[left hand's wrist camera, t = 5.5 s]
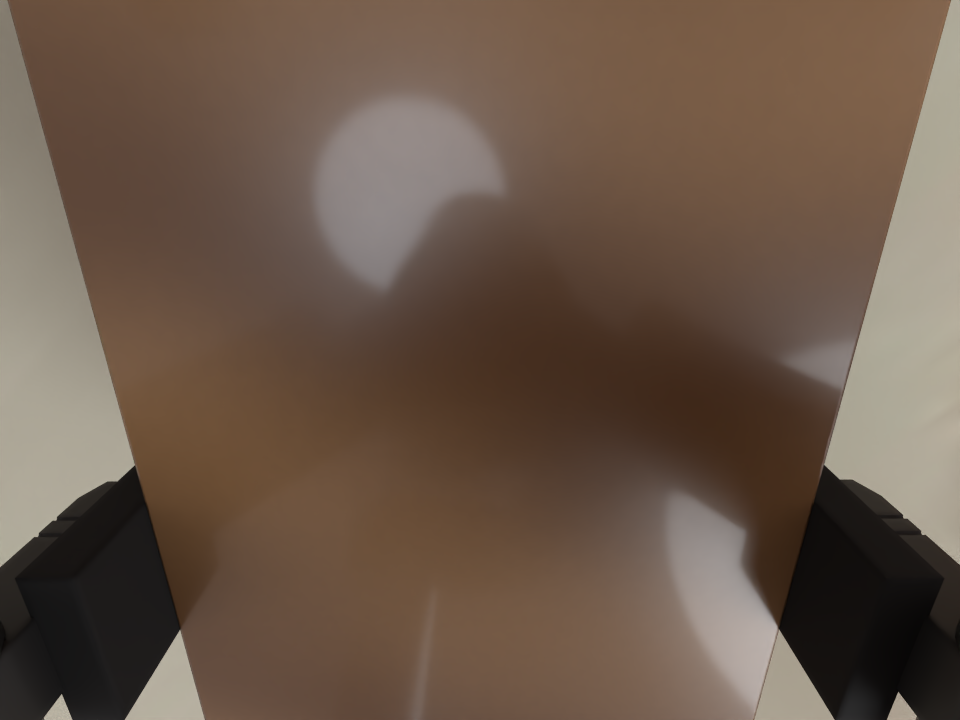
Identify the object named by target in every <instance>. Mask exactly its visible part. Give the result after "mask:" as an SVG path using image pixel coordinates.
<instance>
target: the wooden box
mask: <svg viewBox="0 0 960 720" xmlns="http://www.w3.org/2000/svg"><path fill="white" fill-rule="evenodd" d="M950 2H951V0H8V4H9V7H10V11H11V15H12V18H13V22H14V25H15V29H16V33H17V36H18V40H19V44H20V47H21V51H22V55H23V58H24V62H25V66H26V69H27V73H28V77H29V80H30V84H31V87H32V91H33V95H34V98H35V102H36V106H37V109H38V113H39V117H40V120H41V124H42V128H43V131H44V135H45V138H46V142H47V146H48V149H49V153H50V157H51V160H52V164H53V168H54V171H55V175H56V179H57V182H58V186H59V189H60V193H61V197H62V200H63V204H64V208H65V211H66V215H67V219H68V222H69V226H70V230H71V233H72V237H73V241H74V244H75V248H76V251H77V255H78V259H79V262H80V266H81V270H82V273H83V277H84V281H85V284H86V288H87V292H88V295H89V299H90V302H91V306H92V310H93V313H94V317H95V321H96V324H97V328H98V332H99V335H100V339H101V343H102V346H103V350H104V354H105V357H106V361H107V364H108V368H109V372H110V375H111V379H112V383H113V386H114V390H115V394H116V397H117V401H118V405H119V408H120V412H121V415H122V419H123V423H124V426H125V430H126V434H127V437H128V441H129V445H130V448H131V452H132V456H133V459H134V463H135V466H136V470H137V474H138V477H139V481H140V485H141V488H142V492H143V496H144V499H145V503H146V507H147V510H148V514H149V518H150V521H151V525H152V528H153V532H154V536H155V539H156V543H157V547H158V550H159V554H160V558H161V561H162V565H163V569H164V572H165V576H166V579H167V583H168V587H169V590H170V594H171V598H172V601H173V605H174V609H175V612H176V616H177V620H178V623H179V627H180V630H181V634H182V638H183V641H184V645H185V649H186V652H187V656H188V660H189V663H190V667H191V671H192V674H193V678H194V682H195V685H196V689H197V692H198V696H199V700H200V703H201V707H202V711H203V714H204V718H205V720H754V719H755V715H756V711H757V708H758V704H759V700H760V697H761V693H762V689H763V686H764V682H765V678H766V675H767V671H768V667H769V664H770V660H771V656H772V653H773V649H774V645H775V642H776V638H777V635H778V631H779V627H780V624H781V620H782V616H783V613H784V609H785V605H786V602H787V598H788V594H789V591H790V587H791V583H792V580H793V576H794V572H795V569H796V565H797V561H798V558H799V554H800V550H801V547H802V543H803V539H804V536H805V532H806V528H807V525H808V521H809V517H810V514H811V510H812V507H813V503H814V499H815V496H816V492H817V488H818V485H819V481H820V477H821V474H822V470H823V466H824V463H825V459H826V455H827V452H828V448H829V444H830V441H831V437H832V433H833V430H834V426H835V422H836V419H837V415H838V411H839V408H840V404H841V400H842V397H843V393H844V389H845V386H846V382H847V379H848V375H849V371H850V368H851V364H852V360H853V357H854V353H855V349H856V346H857V342H858V338H859V335H860V331H861V327H862V324H863V320H864V316H865V313H866V309H867V305H868V302H869V298H870V294H871V291H872V287H873V283H874V280H875V276H876V272H877V269H878V265H879V262H880V258H881V254H882V251H883V247H884V243H885V240H886V236H887V232H888V229H889V225H890V221H891V218H892V214H893V210H894V207H895V203H896V199H897V196H898V192H899V188H900V185H901V181H902V177H903V174H904V170H905V166H906V163H907V159H908V155H909V152H910V148H911V144H912V141H913V137H914V134H915V130H916V126H917V123H918V119H919V115H920V112H921V108H922V104H923V101H924V97H925V93H926V90H927V86H928V82H929V79H930V75H931V71H932V68H933V64H934V60H935V57H936V53H937V49H938V46H939V42H940V38H941V35H942V31H943V27H944V24H945V20H946V17H947V13H948V9H949V6H950Z"/></svg>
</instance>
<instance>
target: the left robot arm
mask: <svg viewBox="0 0 960 720" xmlns="http://www.w3.org/2000/svg"><path fill="white" fill-rule="evenodd" d="M179 630H180V627H179V623H178V620H177V616H176V612H175V609H174V605H173V601H172V598H171V594H170V590H169V587H168V583H167V579H166V576H165V572H164V569H163V565H162V561H161V558H160V554H159V550H158V547H157V543H156V539H155V536H154V532H153V528H152V525H151V521H150V518H149V514H148V510H147V507H146V503H145V499H144V496H143V492H142V488H141V485H140V481H139V477H138V474H137V470H136V466H134V467H133V468H132V469H131V470H129V471H128V472H127V473H126V474H125V475H124V476H123V477H122V478H121V479H120V480H119V481H118V482H106V483H104V484H102V485H101V486H99V487H97V488H95V489H94V490H92V491H90V492H88V493H86V494H85V495H83V496H81V497H79V498H78V499H77V500H76V501H74V502H73V503H72V504H71V505H70V506H69V507H68V508H67V509H65V510H64V511H63V512H62V513H61V514H60V515H59V516H58V517H57V520H56V521H52V522H51V523H50V524H49V525H47V526H46V527H45V528H44V529H43V530H42V531H41V532H40V533H39V536H38V537H34V538H33V539H32V540H31V541H29V542H28V543H27V544H26V545H25V546H24V547H23V548H22V549H20V550H19V551H18V552H17V553H16V554H15V555H14V556H13V557H11V558H10V559H9V560H8V561H7V562H6V563H5V564H4V565H2V566H1V567H0V720H44V716H45V715H46V714H47V712H48V711H49V710H50V708H51V707H52V706H53V705H54V703H55V702H56V701H57V699H58V698H59V697H60V695H61V694H62V695H63V698H64V700H65V702H66V705H67V707H68V710H69V712H70V715H71V717H72V719H73V720H125V718H126V717H127V715H128V713H129V712H130V710H131V709H132V707H133V705H134V704H135V702H136V700H137V699H138V697H139V696H140V694H141V692H142V691H143V689H144V687H145V686H146V684H147V682H148V681H149V679H150V678H151V676H152V674H153V673H154V671H155V669H156V668H157V666H158V665H159V663H160V661H161V660H162V658H163V656H164V655H165V653H166V652H167V650H168V648H169V647H170V645H171V643H172V642H173V640H174V638H175V637H176V635H177V634H178V632H179ZM779 630H780V631H781V633H782V635H783V636H784V638H785V639H786V641H787V643H788V644H789V646H790V648H791V649H792V651H793V652H794V654H795V656H796V657H797V659H798V661H799V662H800V664H801V665H802V667H803V669H804V670H805V672H806V674H807V675H808V677H809V679H810V680H811V682H812V683H813V685H814V687H815V688H816V690H817V692H818V693H819V695H820V696H821V698H822V700H823V701H824V703H825V705H826V706H827V708H828V709H829V711H830V713H831V714H832V716H833V718H834V719H835V720H887V718H888V715H889V713H890V710H891V708H892V705H893V703H894V701H895V698H896V696H897V693H898V692H899V693H900V694H901V696H902V697H903V698H904V700H905V701H906V702H907V704H908V705H909V706H910V707H911V709H912V710H913V711H914V713H915V714H916V715H917V718H916V720H960V565H959V564H958V563H957V562H956V561H955V560H953V559H952V558H951V557H950V556H949V555H948V554H947V553H945V552H944V551H943V550H942V549H941V548H940V547H939V546H938V545H936V544H935V543H934V542H933V541H932V540H931V539H930V538H928V537H927V536H926V535H922V534H921V530H919V529H918V528H917V527H916V526H915V525H914V524H913V523H911V522H910V521H909V520H908V519H904V518H903V515H902V514H901V513H900V512H899V511H898V510H897V509H896V508H894V507H893V506H892V505H891V504H890V503H889V502H888V501H887V500H885V499H884V498H883V497H882V496H881V495H879V494H877V493H875V492H873V491H872V490H870V489H868V488H866V487H864V486H863V485H861V484H859V483H857V482H855V481H854V480H839V479H838V478H837V477H836V476H835V475H834V474H833V473H832V472H831V471H830V470H829V469H828V468H827V467H826V466H825V465H824V466H823V470H822V474H821V477H820V481H819V485H818V488H817V492H816V496H815V499H814V503H813V507H812V510H811V514H810V517H809V521H808V525H807V528H806V532H805V536H804V539H803V543H802V547H801V550H800V554H799V558H798V561H797V565H796V569H795V572H794V576H793V580H792V583H791V587H790V591H789V594H788V598H787V602H786V605H785V609H784V613H783V616H782V620H781V624H780V627H779Z"/></svg>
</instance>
